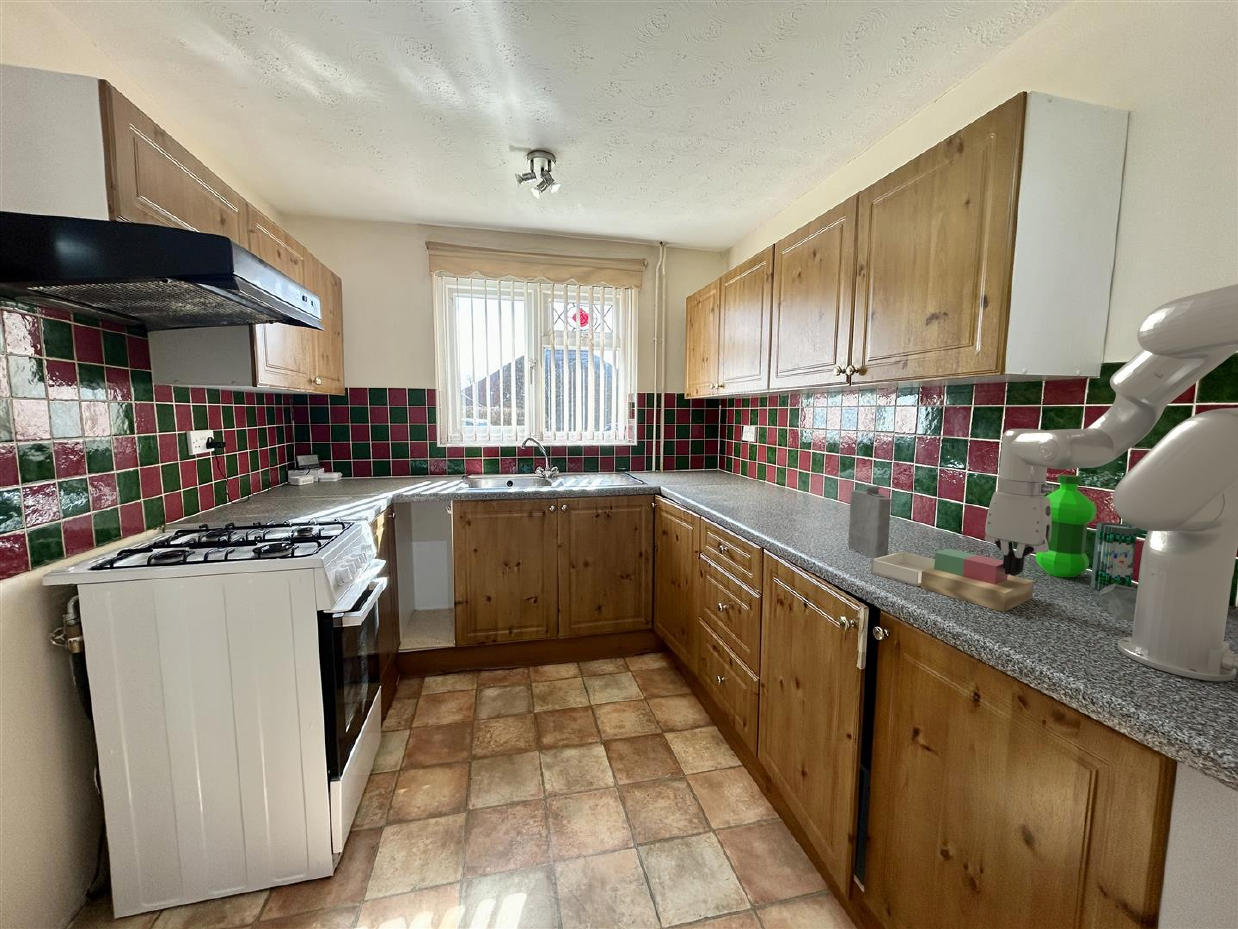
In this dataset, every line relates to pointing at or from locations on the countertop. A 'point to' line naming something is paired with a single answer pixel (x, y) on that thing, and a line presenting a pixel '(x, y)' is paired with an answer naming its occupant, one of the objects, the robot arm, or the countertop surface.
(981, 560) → the pink toy cube
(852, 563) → the countertop surface
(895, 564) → the tray
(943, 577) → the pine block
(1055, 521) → the plastic bottle
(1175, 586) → the robot arm
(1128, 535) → the green printed upright box
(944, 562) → the green block
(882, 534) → the hip flask
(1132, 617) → the stone
